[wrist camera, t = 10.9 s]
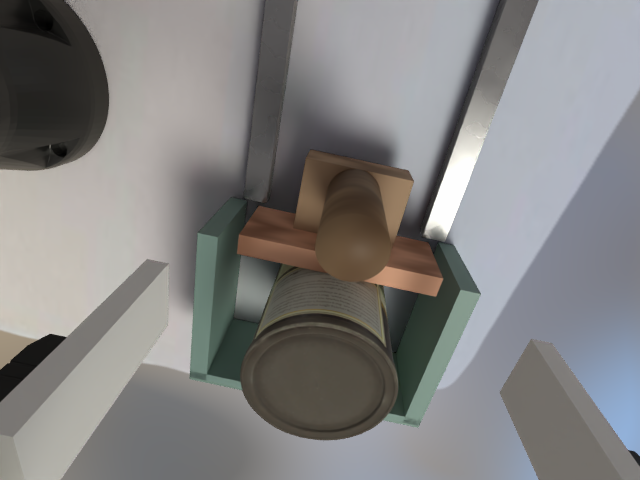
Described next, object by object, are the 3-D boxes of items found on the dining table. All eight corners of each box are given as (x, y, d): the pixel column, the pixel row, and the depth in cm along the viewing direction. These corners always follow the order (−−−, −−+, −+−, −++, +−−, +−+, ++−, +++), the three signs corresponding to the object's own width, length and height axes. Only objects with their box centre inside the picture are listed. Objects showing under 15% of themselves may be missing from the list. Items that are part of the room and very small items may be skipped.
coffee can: (401, 293, 37) (425, 414, 24) (314, 331, 40) (294, 457, 27) (350, 209, 33) (347, 297, 21) (259, 258, 36) (207, 361, 24)
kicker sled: (256, 222, 32) (207, 300, 22) (267, 139, 29) (215, 183, 18) (422, 258, 33) (456, 354, 22) (451, 179, 29) (507, 246, 19)
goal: (219, 322, 40) (189, 378, 33) (231, 197, 34) (197, 232, 27) (406, 363, 40) (418, 427, 33) (454, 245, 34) (481, 294, 27)
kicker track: (247, 193, 33) (243, 198, 32) (287, -145, 23) (282, -157, 22) (441, 234, 34) (444, 242, 32) (561, -83, 24) (574, -92, 22)
